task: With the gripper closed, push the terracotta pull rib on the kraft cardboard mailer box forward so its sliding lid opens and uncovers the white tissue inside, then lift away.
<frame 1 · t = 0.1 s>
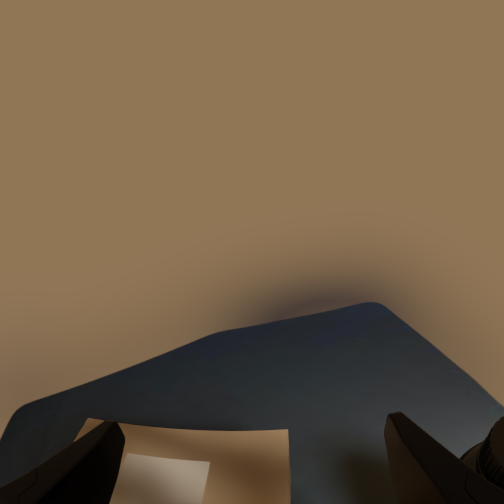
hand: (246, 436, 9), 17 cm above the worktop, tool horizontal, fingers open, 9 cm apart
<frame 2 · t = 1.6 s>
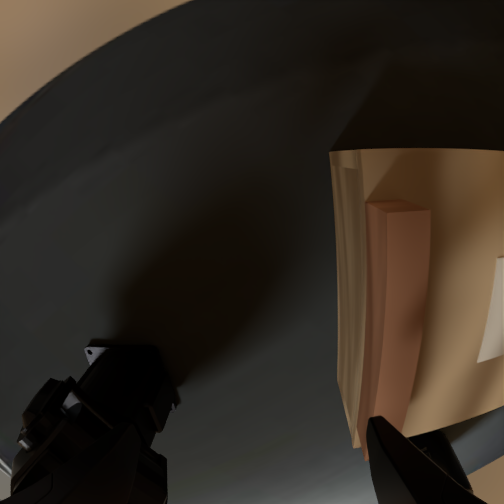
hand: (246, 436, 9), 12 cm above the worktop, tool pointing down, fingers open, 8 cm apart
supplement bottle: (415, 448, 25), on the worktop
mailer box: (457, 265, 19), on the worktop
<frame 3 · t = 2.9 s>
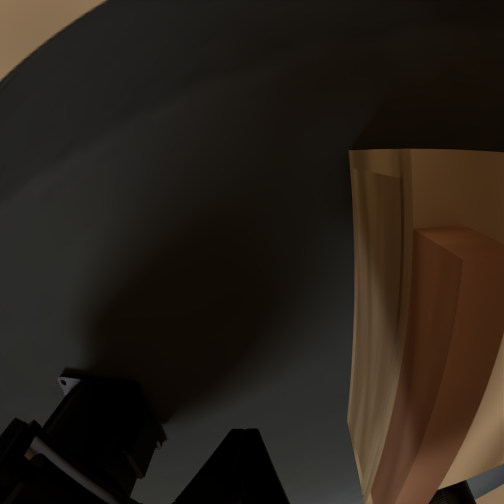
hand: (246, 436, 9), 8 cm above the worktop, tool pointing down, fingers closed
supplement bottle: (426, 480, 21), on the worktop
mailer box: (492, 291, 15), on the worktop
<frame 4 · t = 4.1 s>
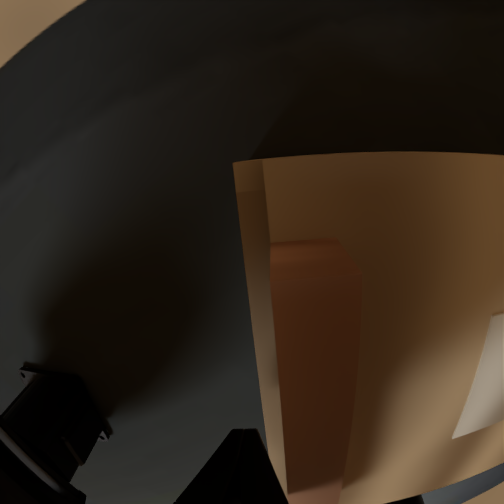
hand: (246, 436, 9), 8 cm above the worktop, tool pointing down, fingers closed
supplement bottle: (381, 491, 21), on the worktop
mailer box: (429, 303, 15), on the worktop
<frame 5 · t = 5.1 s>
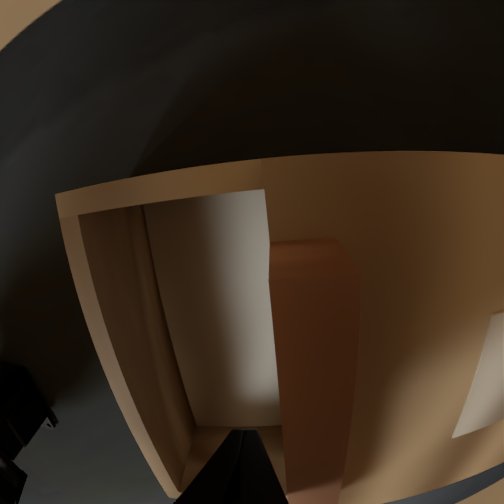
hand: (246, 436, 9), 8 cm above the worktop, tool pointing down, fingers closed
mailer box: (328, 316, 16), on the worktop
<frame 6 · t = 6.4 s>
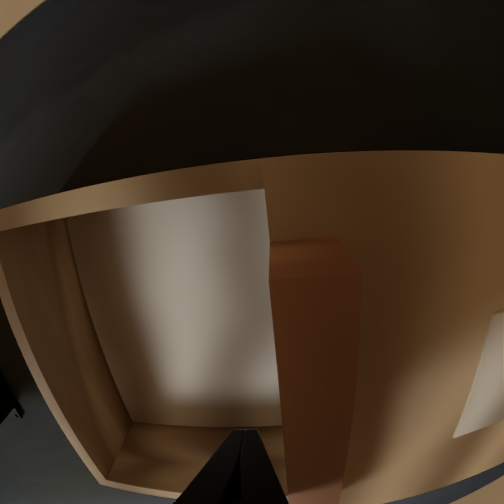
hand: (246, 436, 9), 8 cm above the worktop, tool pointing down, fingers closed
mailer box: (239, 323, 16), on the worktop
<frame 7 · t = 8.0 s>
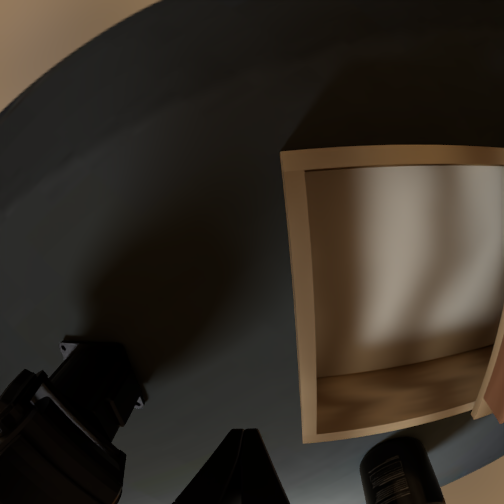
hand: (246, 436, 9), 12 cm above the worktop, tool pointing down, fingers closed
supplement bottle: (391, 454, 25), on the worktop
mailer box: (425, 269, 19), on the worktop
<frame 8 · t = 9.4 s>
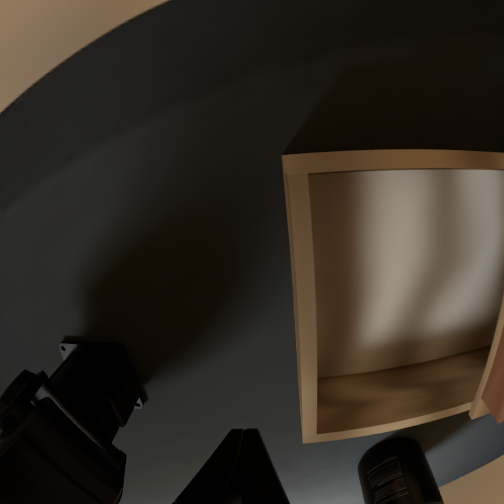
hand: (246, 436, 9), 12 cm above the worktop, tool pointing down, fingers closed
supplement bottle: (389, 455, 25), on the worktop
mailer box: (424, 271, 19), on the worktop
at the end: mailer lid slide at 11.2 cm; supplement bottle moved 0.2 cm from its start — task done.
